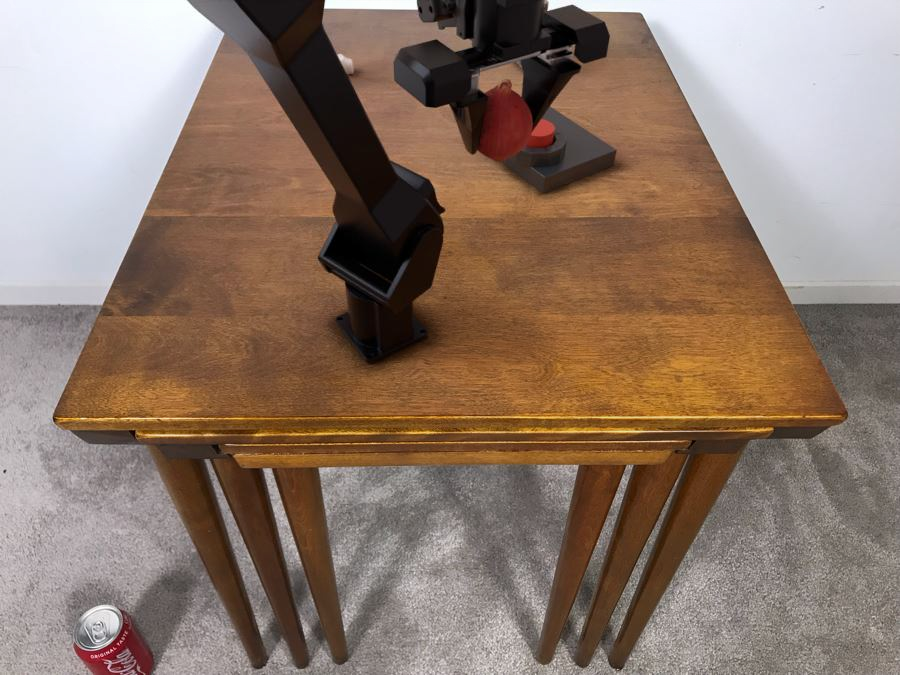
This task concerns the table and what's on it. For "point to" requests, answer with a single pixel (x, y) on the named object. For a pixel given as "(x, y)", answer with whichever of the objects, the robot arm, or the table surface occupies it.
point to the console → (562, 156)
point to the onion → (505, 123)
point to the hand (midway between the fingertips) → (498, 143)
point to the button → (542, 135)
